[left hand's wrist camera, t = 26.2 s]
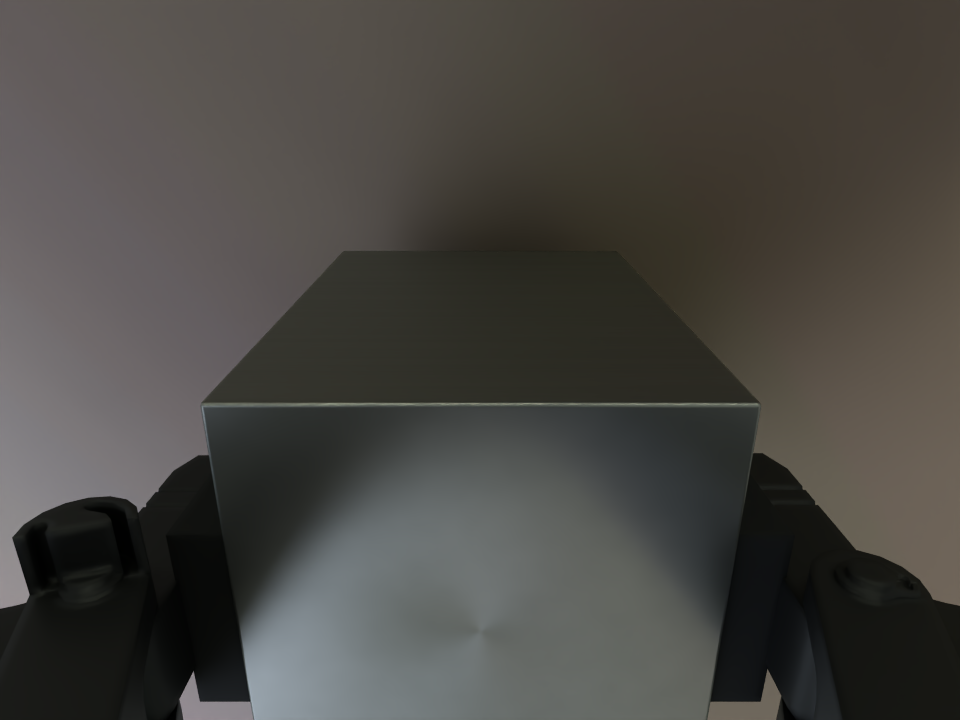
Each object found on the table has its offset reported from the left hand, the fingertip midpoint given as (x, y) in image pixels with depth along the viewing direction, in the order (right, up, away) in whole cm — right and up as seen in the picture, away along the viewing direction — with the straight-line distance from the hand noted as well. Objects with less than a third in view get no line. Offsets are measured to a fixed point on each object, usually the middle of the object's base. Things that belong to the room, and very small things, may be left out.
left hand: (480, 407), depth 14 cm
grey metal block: (0, +1, +1) cm, 1 cm away
